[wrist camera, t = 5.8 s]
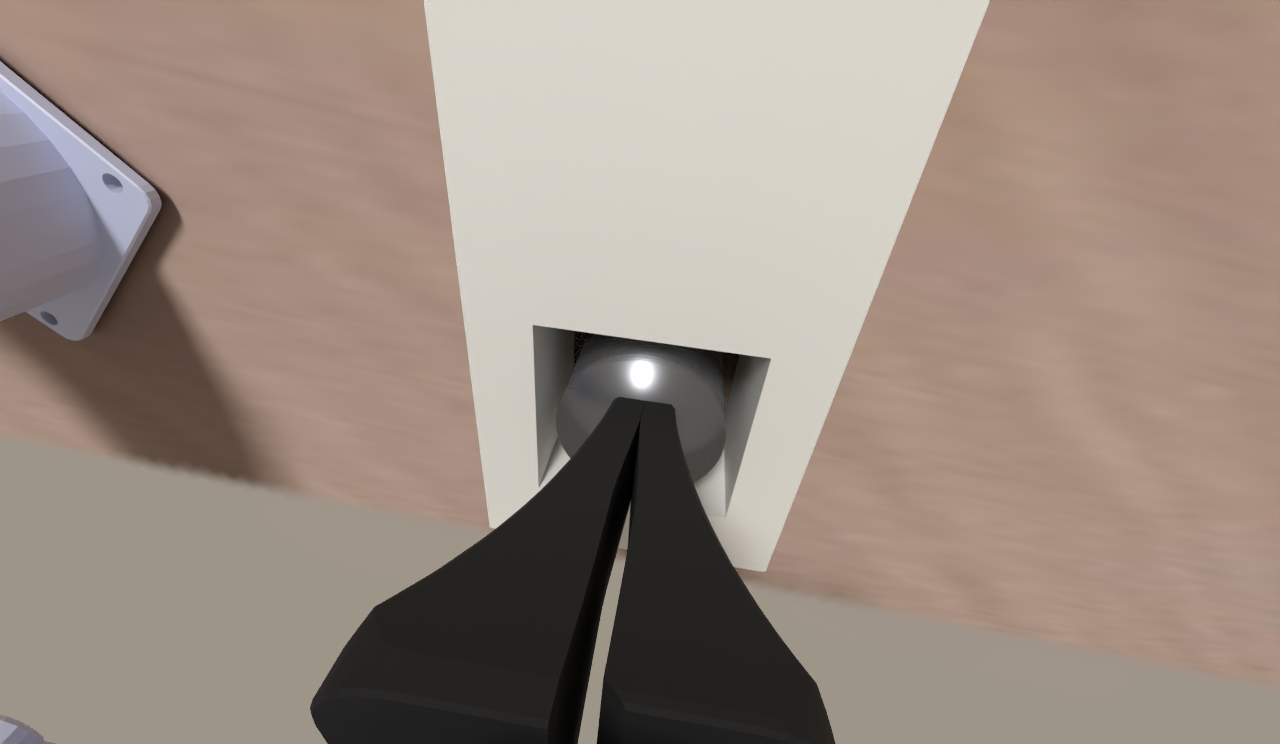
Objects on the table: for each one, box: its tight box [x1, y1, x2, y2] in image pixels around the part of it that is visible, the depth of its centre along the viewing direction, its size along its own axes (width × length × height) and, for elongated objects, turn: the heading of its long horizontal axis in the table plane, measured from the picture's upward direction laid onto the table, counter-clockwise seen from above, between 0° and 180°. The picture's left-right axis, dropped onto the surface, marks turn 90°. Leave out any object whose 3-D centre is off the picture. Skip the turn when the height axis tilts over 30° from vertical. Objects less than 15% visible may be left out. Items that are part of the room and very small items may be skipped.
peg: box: [556, 333, 726, 483], centre depth 13 cm, size 4×4×4 cm
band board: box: [424, 0, 990, 572], centre depth 10 cm, size 20×8×4 cm, turn 174°
